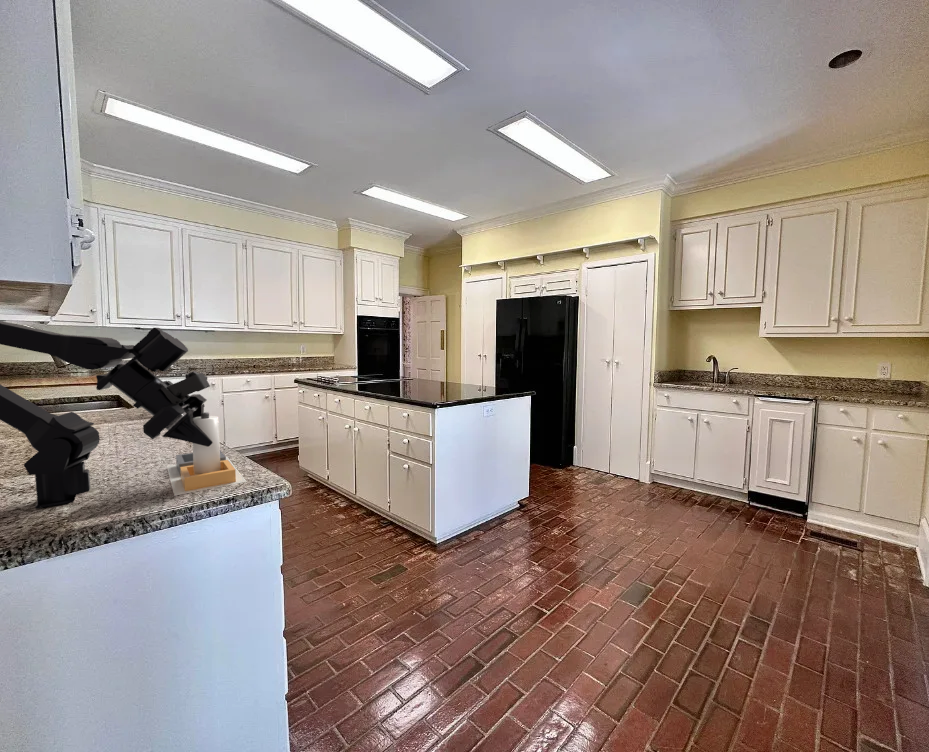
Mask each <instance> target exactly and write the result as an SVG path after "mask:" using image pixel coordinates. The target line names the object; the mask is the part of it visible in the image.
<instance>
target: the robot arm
mask: <svg viewBox="0 0 929 752" xmlns="http://www.w3.org/2000/svg"><path fill="white" fill-rule="evenodd" d="M0 345H2V346H7V347H13V348H16V349H17V348H18V349H21V350H26V351H31V352H37V353H41V354H46V355H50V356H53V357H55V358H57V359H58V360H61V361H63V362H65V363H66V364H67V363H68V364H70V365H72V366H73V365H74V366H77V367H79V368H82V369H85V370H93V371H94V370H100V369H106V368H107V369H108V368H112V369H111V370H110V371H108V372H107V373H106V374H104V373H103V374H98V375H96V376H95V378H96V386H95V387H96V390H97V391H102V390H103V391H104V390H106V389H110V387H112V386H113V387H114V388H116V389H117V390H119V391H120V392H121V393H122V394H124V395H125V396H126V397H128V398H129V399H130V400H132V401H133V402H135V403H134V404H132V406H133V407H134V408H136V409H137V410H139V409H140V408H142V409H143V410H145V411H146V412H147V413H149V414H150V415H151V416H152V417H151V418H150V419H148V421H146V422H145V423H144V424H143V425H142V426H143V427H142V431H143V434H145V435H146V436H147V437H148V438H150V439H151V440H154V439H156V438H158V437H159V436H160V435H161V432H163V431H164V430H165V429H166V430H167V431H166V432H165V433H164V434H163V435H162V437H163V438H169V439H174V440H180V441H184V442H187V443H191V444H192V443H195V444H199V445H203V446H207V447H209V446H210V445H211V444H212V443H213V442H212V441H211V440H210V439H209V437H208V436H207V435H206V434H205V433H204V432H203V431H202V430H201V429H200V428H199V427H198V426H197V425H196V424H195V423H194V421H193V418H195V417H201V413H205V412H204V411H205V402H207V399H206V398H205V397H204V396H202V395H201V393H200V394H199V393H196V394H193V393H195V392H200V391H202V390H205V389H207V388H210V387H211V385H210V383H209V382H208V379H209V378H208V376H206V375H205V374H204V373H203V372H200V373H199V372H197V371H196V370H194V371H191V372H190V373H186V374H185V376H184V377H185V378H184V379H182V380H180V381H177V382H175V383H173V382H172V381H170V380H165V381H163V380H162V379H160V378H159V377H158V376H156V375H155V374H154V373H156V372H158V371H160V372H161V371H162V372H167V371H168V370H169V369H170V368H171V367H172V366H173V365H174V364H176V362H178V361H179V360H180V359H181V358H182V357H183V356H184V355H185V354H187V353H188V352H189V349H188V348H187V346H186V345H185V344H184V343H183V342H182V341H181V340H179V339H178V338H175V337H174V336H172V335H171V334H169V333H168V332H165V331H163V330H162V329H161V328H160V327H152V329H150V330H149V331H148V332H147V334H145V336H143V338H141V339H140V341H138V342H137V343H136V344H135V345H133V344H130V345H128V344H127V345H125V344H121V343H120V342H119V340H117V339H114V338H112V337H104V336H91V335H89V336H88V335H77V334H75V335H74V334H61V333H59V332H53V331H49V330H44V329H41V328H40V329H39V328H34V327H30V326H26V325H21V324H15V323H12V322H8V321H7V322H6V321H2V320H0ZM128 359H130V360H129V361H128V362H126V363H125V364H120V363H122V362H123V360H128ZM153 372H154V373H153ZM190 394H191V395H190ZM0 421H1V422H3V423H5V424H7V425H8V426H11V428H13V429H15V430H17V431H19V432H21V433H22V434H23V435H25V438H26V439H27V441H28V443H29V444H30V445H31V447H32V448H33V449H34V450H35V451H37V452H36V453H35V454H33V456H32V457H30V458H29V459H27V460H26V462H25V463H23V466H24V468H25V470H26V471H27V473H28V475H29V476H34V479H35V489H36V502H35V505H34V508H35V509H40V508H46V507H52V506H59V505H64V504H69V503H74V502H75V499H76V496H77V495H79V494H84V493H87V492H90V491H91V477H90V470H89V469H86V467H85V461H87V460H89V458H90V455H91V453H92V451H94V450H95V449H96V448H97V447H98V445H99V444H100V432H99V431H98V429H97V428H95V427H94V426H93V425H94V424H95V423H94V422H91V421H87V420H85V419H83V418H82V417H81V416H79V415H78V414H77V413H76V412H74V411H69V412H65V413H63V414H54V413H51V412H48V411H47V410H45V409H44V408H41V406H38V405H37V404H35V403H34V402H31V401H30V400H28V399H26V398H24V397H23V396H21V395H19V394H17V393H16V392H14V391H12V390H11V389H10V388H8V387H5V386H4V385H2V384H0Z"/></svg>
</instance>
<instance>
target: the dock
mask: <svg viewBox="0 0 929 752" xmlns="http://www.w3.org/2000/svg"><path fill="white" fill-rule="evenodd" d="M175 462H176V463H175V464H170V465H166V469H167V473H168V477H169V481H170V485H171V488H172V492H173V496H180V495H184V494H190V493H195V492H200V491H206V490H210V489H216V488H221V487H227V486H232V485H238V484H243V483H247V480H246V479H245V477H244V476H243V475H242V474H241V473H240V471H239V470H238V469H237V467H236V466H235V465H234V464H233V462H232V461H231V460H230V458H229V457H228V456H226V455H225V454H224V453H223V452H222V450H221V449H220V467H221V470H220V471H216V472H210V473H204V474H198V475H195V474H194V466H193V452H189V453H182V454H181V453H180V454H175Z"/></svg>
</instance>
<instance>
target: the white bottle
mask: <svg viewBox="0 0 929 752" xmlns="http://www.w3.org/2000/svg"><path fill="white" fill-rule="evenodd" d="M219 419H220V417H219V416H218V415H210V412H209V411H208V412H207V411H206V412H204V413H201V417H195V418H193V421H194V423H195V424H196V425H197V426H198V427H199V428H200V429H201V430H202V431H203V432H204V433H205V434H206V435H207V436H208V437H209V439H210V440H211V441H212V442H213V443H212V444H211V445H210V446H209V447H207V446H203V445H199V444H195V443H191V444H192V453H193V466H194V474H195V475H198V474H204V473H210V472H216V471H220V470H221V467H220V450H221V447H220V444H221V443H220V421H219Z"/></svg>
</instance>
